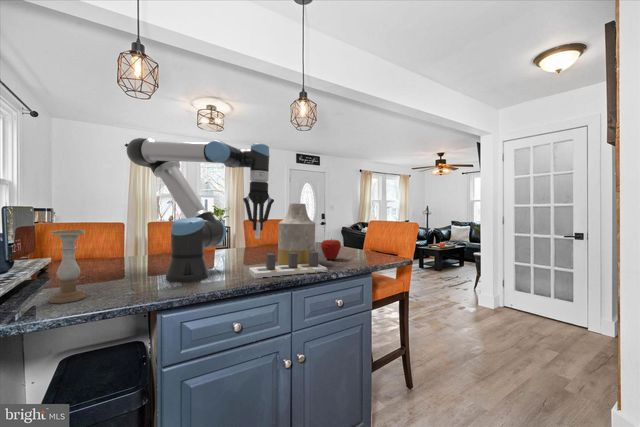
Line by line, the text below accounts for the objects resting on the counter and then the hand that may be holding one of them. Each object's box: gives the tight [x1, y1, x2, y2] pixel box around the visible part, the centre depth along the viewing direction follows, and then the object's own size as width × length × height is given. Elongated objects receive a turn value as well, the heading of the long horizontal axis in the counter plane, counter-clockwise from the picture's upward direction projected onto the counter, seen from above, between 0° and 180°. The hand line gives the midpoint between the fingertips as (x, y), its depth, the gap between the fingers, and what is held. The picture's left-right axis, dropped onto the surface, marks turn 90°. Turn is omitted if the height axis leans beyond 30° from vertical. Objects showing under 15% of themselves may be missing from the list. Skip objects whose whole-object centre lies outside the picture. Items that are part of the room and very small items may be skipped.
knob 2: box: [288, 252, 298, 268], centre depth 130 cm, size 3×4×6 cm
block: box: [265, 252, 276, 269], centre depth 126 cm, size 3×4×6 cm
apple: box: [320, 238, 342, 260], centre depth 163 cm, size 11×11×12 cm
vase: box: [277, 202, 316, 266], centre depth 149 cm, size 18×18×30 cm
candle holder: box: [48, 229, 88, 304], centre depth 88 cm, size 9×9×20 cm
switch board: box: [248, 263, 328, 279], centre depth 130 cm, size 32×12×2 cm, turn 115°
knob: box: [309, 250, 319, 266], centre depth 135 cm, size 3×4×6 cm
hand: (257, 238), depth 124 cm, fingers closed
